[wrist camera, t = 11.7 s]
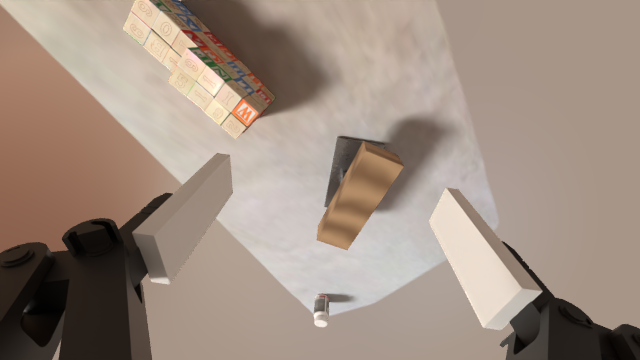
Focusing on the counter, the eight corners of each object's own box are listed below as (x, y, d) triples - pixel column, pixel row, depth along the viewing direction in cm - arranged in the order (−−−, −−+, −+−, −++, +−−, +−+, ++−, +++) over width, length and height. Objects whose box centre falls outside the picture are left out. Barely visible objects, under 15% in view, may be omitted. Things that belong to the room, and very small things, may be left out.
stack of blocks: (163, 31, 41) (102, 26, 30) (180, 0, 38) (120, -17, 28) (257, 119, 48) (235, 140, 37) (277, 97, 45) (259, 114, 35)
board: (363, 141, 41) (366, 151, 37) (397, 155, 42) (403, 166, 38) (318, 225, 52) (316, 240, 48) (346, 235, 53) (347, 250, 49)
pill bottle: (312, 298, 78) (310, 324, 71) (320, 291, 76) (318, 317, 69) (324, 303, 79) (322, 329, 72) (331, 297, 77) (331, 323, 70)
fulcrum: (337, 136, 48) (337, 149, 42) (384, 144, 49) (390, 158, 43) (324, 204, 58) (323, 223, 52) (363, 210, 58) (367, 229, 52)
